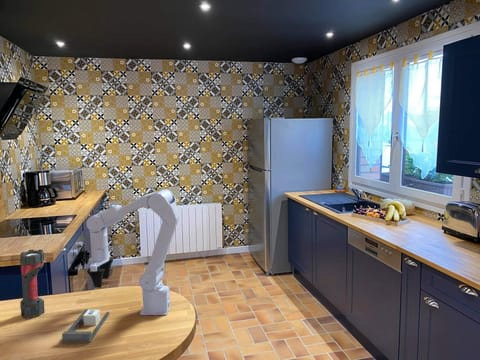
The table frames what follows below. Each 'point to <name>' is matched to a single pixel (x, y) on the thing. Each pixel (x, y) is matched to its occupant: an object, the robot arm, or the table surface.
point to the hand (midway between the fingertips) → (101, 282)
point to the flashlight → (31, 283)
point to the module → (91, 317)
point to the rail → (81, 336)
